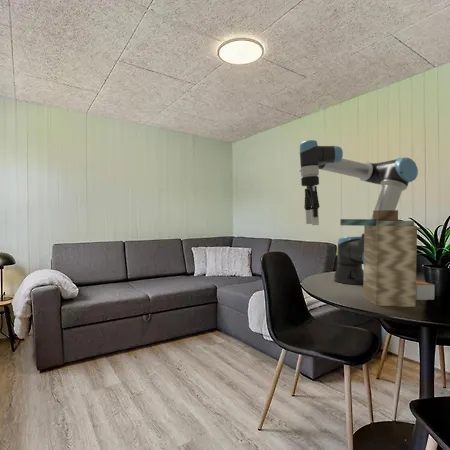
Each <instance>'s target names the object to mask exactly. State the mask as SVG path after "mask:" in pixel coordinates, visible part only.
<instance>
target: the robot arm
mask: <svg viewBox="0 0 450 450" xmlns="http://www.w3.org/2000/svg"><path fill="white" fill-rule="evenodd" d="M343 154H344V152H343V148H342V147H340V146H338V145H318V142H317V140H314V139H310V140H308V139H307V140H304V141H301V142H300V144H299V158H300V159H299V160H300V169H299V172H300V175H301V179H300V180H301V181H300V182H301V183H300V184H301V186H302V187H306V188H304V210H305V225H312V226H319V225H320V221H319V219H320V218H319V217H320V216H319V208H320V207H321V206H320V203H319V202H320V201H319V196H318V195H319V194H318V189H317V188H318V186H319V185H320V178H319V177H320V176H319V174H320V172H319V170H322V171H326V172H332V173H335V174H336V173H337V174H340V175H345V176H349V177H354V178H358V179H359V180H360V181H362V182H366V183H370V184H374V185H379V186H380V185H381V191H380V193H379V195H378V199H377V201H376V204H375V207H374V210H373V211H376V210H396V209H397V206H398V204H399V201H400V197H401V195H402V192H403V191H405V190H407V188H408V186H409V183H412V182H413V181H415V180H416V179H417V178H418V175H419V169H418V166H417V164H416V161H414V160H413V159H412V158H409V157H398V158H397V159H391V160H387V161H382V162H373V163H371V162H369V161H368V162H365V163H364V162H359V161H355V160H351V159H346V158H343V156H344V155H343ZM370 219H373V214H372V216H371V218H370ZM363 265H364V232H363V233H362V234H361V236H345V237H344V236H343V237H339V239H338V241H337V267H336V270H335V273H334V275H333V281H334V282H337V283H340V284H346V285H362V284H363V277H364V268H363Z"/></svg>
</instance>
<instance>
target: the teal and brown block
mask: <svg viewBox="0 0 450 450" xmlns="http://www.w3.org/2000/svg"><path fill="white" fill-rule="evenodd" d="M372 215H373V219H371V218H369V219H362V218H353V219H352V218H341V219H340V226H356V227H357V226H363V227H364V226H376V221H399V210H398V209H397V210H396V209H395V210H376V211H374V210H372Z"/></svg>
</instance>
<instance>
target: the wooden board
mask: <svg viewBox="0 0 450 450" xmlns="http://www.w3.org/2000/svg"><path fill="white" fill-rule="evenodd" d="M363 227H364V230H363V233H364V264H363V272H364V277H363V285H362V286H363V287H362V289H363V290H362V293H363V294H362V297H364V298H365V299H367V300H368V301H369V302H370V303H372V304H374V305H375V306H381V307H382V306H383V307H410V308H411V307H412V308H416V303H417V302H416V301H417V300H416V279H417V259H418V258H417V252H418V251H417V250H418V249H417V247H418V245H417V244H418V226H417V225H416V226H415V220H398V221H376V226H363Z"/></svg>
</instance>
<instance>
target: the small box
mask: <svg viewBox="0 0 450 450" xmlns="http://www.w3.org/2000/svg"><path fill="white" fill-rule="evenodd" d="M435 287H436V286H435V284H434V283H430V282H426V281H424V280H420V279H417V278H416V301H429V300H430V301H432V300H435Z"/></svg>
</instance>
